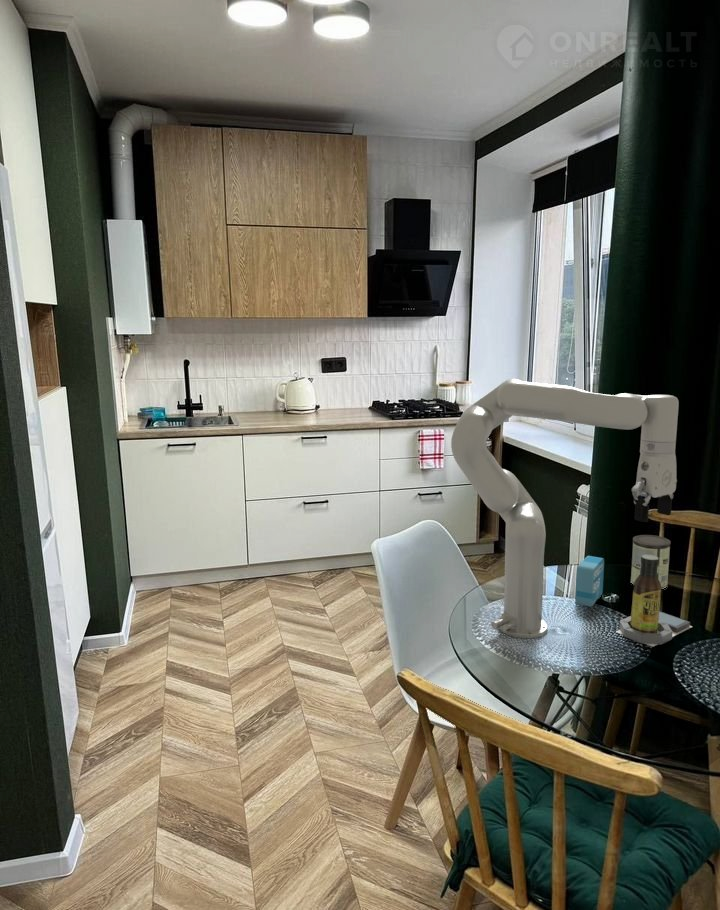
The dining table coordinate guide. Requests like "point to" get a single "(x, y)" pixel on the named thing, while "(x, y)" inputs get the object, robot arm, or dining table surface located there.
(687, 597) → the dining table surface
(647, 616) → the sauce bottle
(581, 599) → the data package
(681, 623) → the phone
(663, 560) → the coffee can
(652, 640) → the grey shallow tray
